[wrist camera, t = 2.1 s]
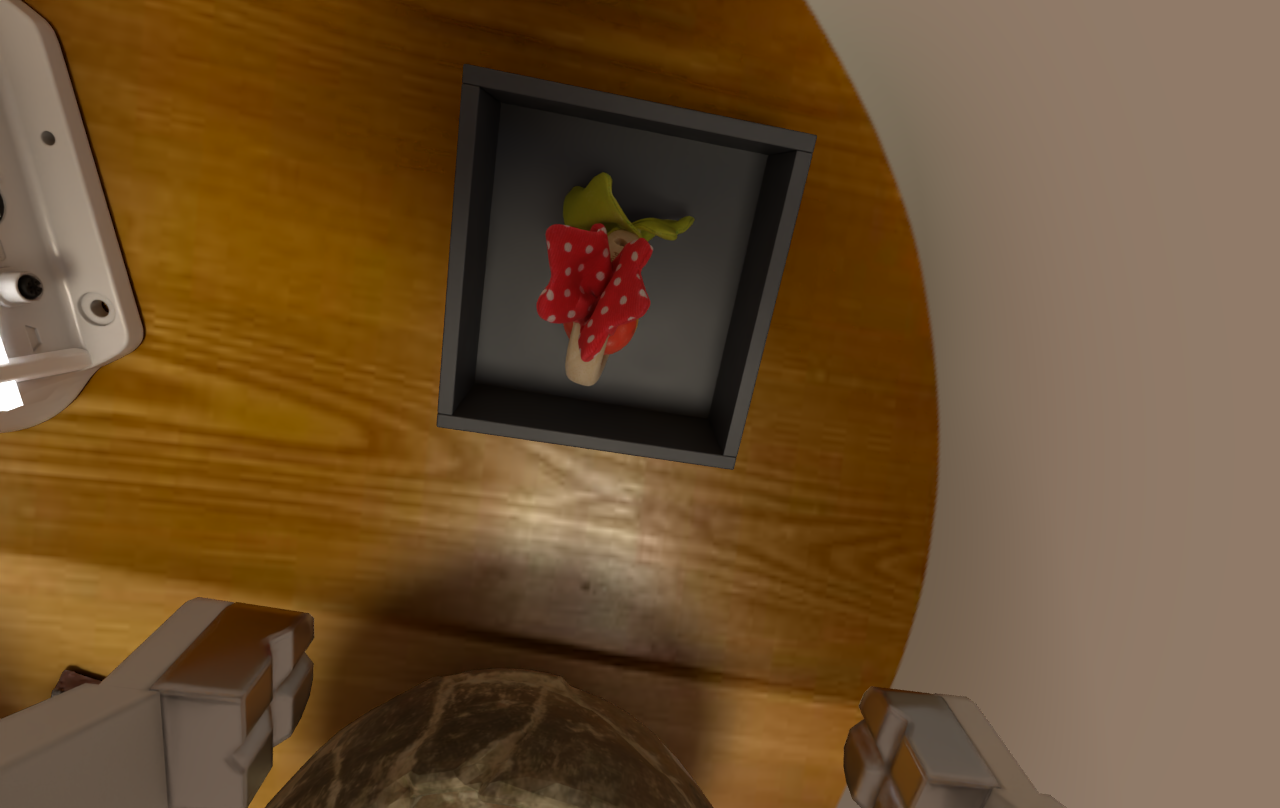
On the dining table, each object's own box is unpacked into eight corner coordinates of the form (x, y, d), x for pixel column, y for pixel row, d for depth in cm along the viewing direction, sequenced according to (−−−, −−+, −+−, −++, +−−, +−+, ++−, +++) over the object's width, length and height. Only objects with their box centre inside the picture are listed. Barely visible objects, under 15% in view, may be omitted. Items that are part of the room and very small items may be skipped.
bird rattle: (662, 321, 35) (706, 165, 29) (655, 470, 27) (714, 296, 21) (552, 299, 34) (573, 134, 28) (510, 444, 26) (528, 257, 20)
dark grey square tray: (489, 84, 29) (463, 63, 24) (783, 143, 30) (817, 134, 25) (462, 390, 34) (436, 427, 29) (716, 429, 35) (733, 470, 30)
